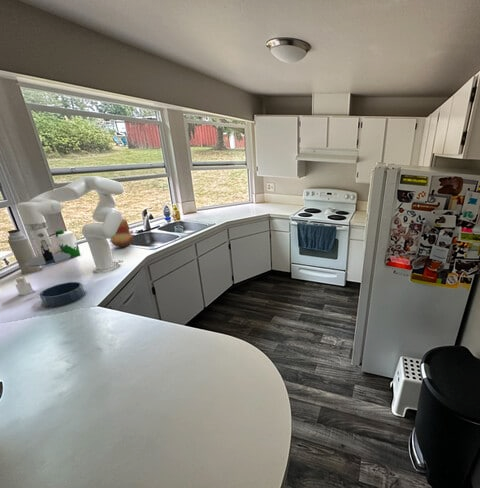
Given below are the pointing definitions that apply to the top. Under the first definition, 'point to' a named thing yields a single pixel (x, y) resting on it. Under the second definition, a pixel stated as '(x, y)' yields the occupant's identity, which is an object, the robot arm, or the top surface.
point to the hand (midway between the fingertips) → (48, 258)
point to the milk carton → (67, 243)
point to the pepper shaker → (23, 286)
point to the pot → (62, 294)
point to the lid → (41, 261)
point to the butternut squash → (122, 235)
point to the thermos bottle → (22, 251)
